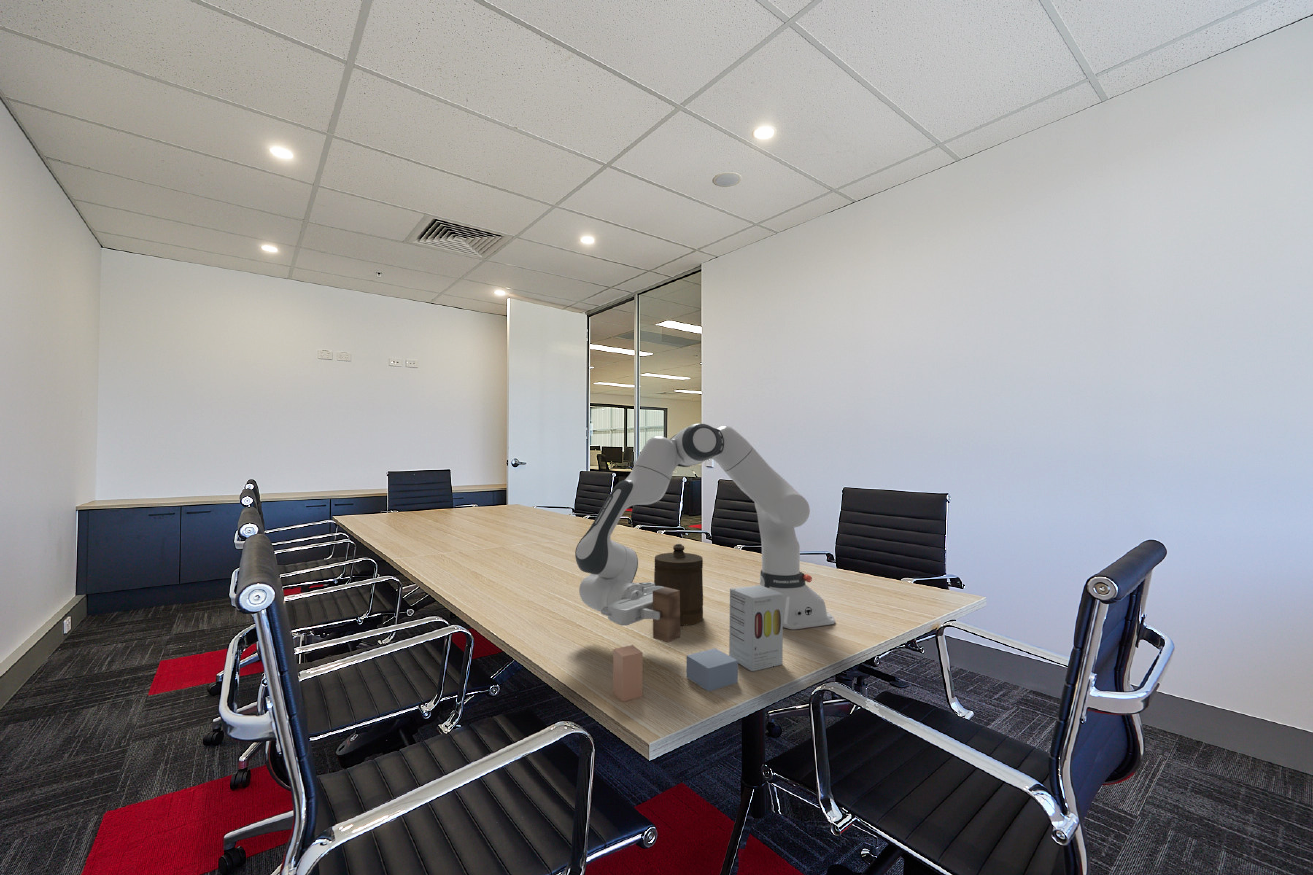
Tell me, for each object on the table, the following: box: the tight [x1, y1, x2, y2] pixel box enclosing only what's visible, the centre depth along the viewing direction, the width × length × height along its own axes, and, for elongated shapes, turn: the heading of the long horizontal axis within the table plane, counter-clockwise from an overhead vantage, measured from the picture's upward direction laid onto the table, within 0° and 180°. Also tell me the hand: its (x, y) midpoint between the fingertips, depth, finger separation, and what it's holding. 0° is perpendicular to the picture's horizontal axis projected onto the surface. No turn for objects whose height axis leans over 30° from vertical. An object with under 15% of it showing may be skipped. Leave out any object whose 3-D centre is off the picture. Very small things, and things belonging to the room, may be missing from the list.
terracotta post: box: [612, 644, 644, 702], centre depth 106 cm, size 4×4×9 cm
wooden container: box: [653, 543, 704, 627], centre depth 155 cm, size 15×15×22 cm
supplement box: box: [728, 584, 784, 672], centre depth 123 cm, size 10×9×17 cm
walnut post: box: [652, 587, 681, 644], centre depth 121 cm, size 4×4×11 cm
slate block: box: [685, 647, 739, 692], centre depth 113 cm, size 8×8×5 cm
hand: (669, 612), depth 120 cm, fingers closed on walnut post, 4 cm apart
